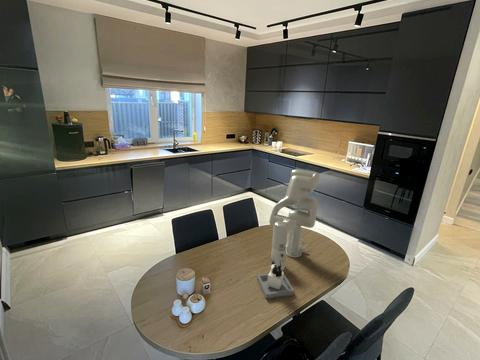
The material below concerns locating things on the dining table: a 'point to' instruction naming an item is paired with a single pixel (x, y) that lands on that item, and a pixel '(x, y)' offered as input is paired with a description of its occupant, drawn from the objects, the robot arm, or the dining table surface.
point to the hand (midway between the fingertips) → (276, 272)
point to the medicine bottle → (274, 278)
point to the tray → (272, 292)
